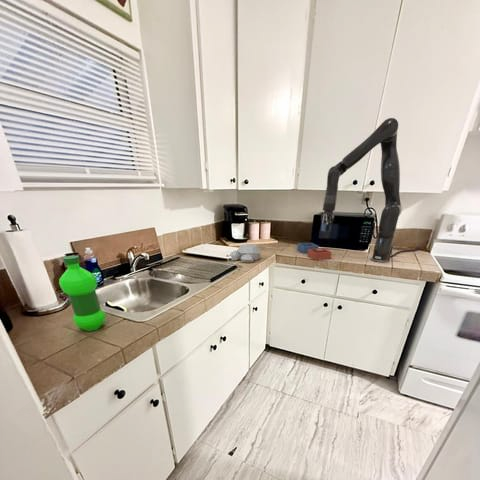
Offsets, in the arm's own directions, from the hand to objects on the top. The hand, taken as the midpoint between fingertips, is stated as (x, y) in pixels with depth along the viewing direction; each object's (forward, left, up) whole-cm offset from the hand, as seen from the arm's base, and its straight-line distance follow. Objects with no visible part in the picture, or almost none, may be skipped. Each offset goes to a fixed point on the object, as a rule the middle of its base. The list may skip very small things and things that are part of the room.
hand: (325, 230), depth 174 cm
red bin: (+6, +7, -16) cm, 19 cm away
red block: (+6, +7, -15) cm, 18 cm away
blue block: (0, 0, 0) cm, 0 cm away
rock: (+55, +1, -16) cm, 57 cm away
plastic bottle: (+128, +76, -16) cm, 150 cm away
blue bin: (+6, -11, -16) cm, 20 cm away
